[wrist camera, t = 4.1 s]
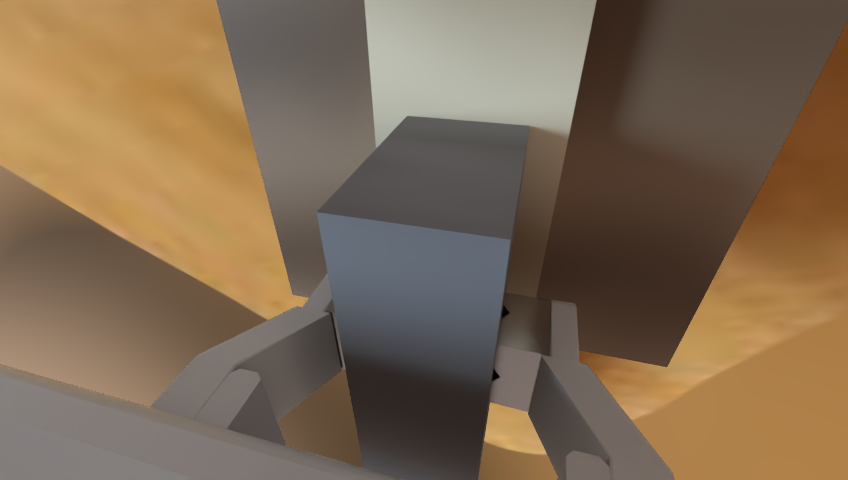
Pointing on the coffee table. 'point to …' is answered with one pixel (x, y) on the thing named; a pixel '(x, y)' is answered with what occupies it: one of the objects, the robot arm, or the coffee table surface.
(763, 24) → the brown bridge block
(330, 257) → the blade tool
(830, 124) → the coffee table surface
